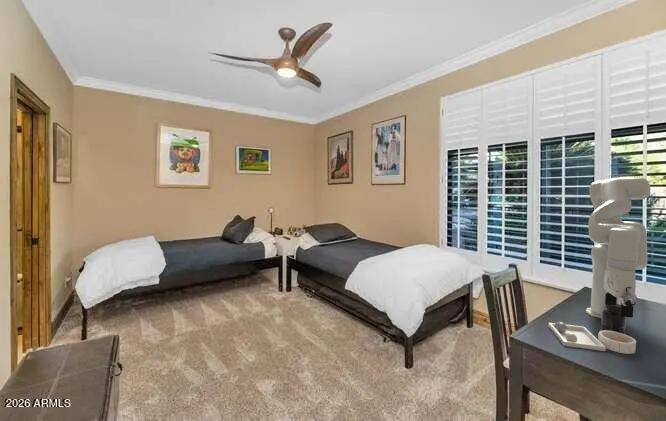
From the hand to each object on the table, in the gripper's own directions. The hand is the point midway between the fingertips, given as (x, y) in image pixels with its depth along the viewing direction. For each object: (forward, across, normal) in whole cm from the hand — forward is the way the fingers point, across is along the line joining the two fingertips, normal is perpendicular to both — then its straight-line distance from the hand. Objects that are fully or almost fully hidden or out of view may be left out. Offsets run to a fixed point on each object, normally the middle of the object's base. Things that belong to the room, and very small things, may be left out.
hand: (618, 310), depth 108 cm
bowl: (+13, +1, 0) cm, 13 cm away
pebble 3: (+13, +1, 0) cm, 13 cm away
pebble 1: (+13, -6, -15) cm, 20 cm away
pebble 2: (+12, +3, -14) cm, 19 cm away
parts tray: (+13, -2, -12) cm, 18 cm away
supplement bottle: (+14, -10, +3) cm, 17 cm away
